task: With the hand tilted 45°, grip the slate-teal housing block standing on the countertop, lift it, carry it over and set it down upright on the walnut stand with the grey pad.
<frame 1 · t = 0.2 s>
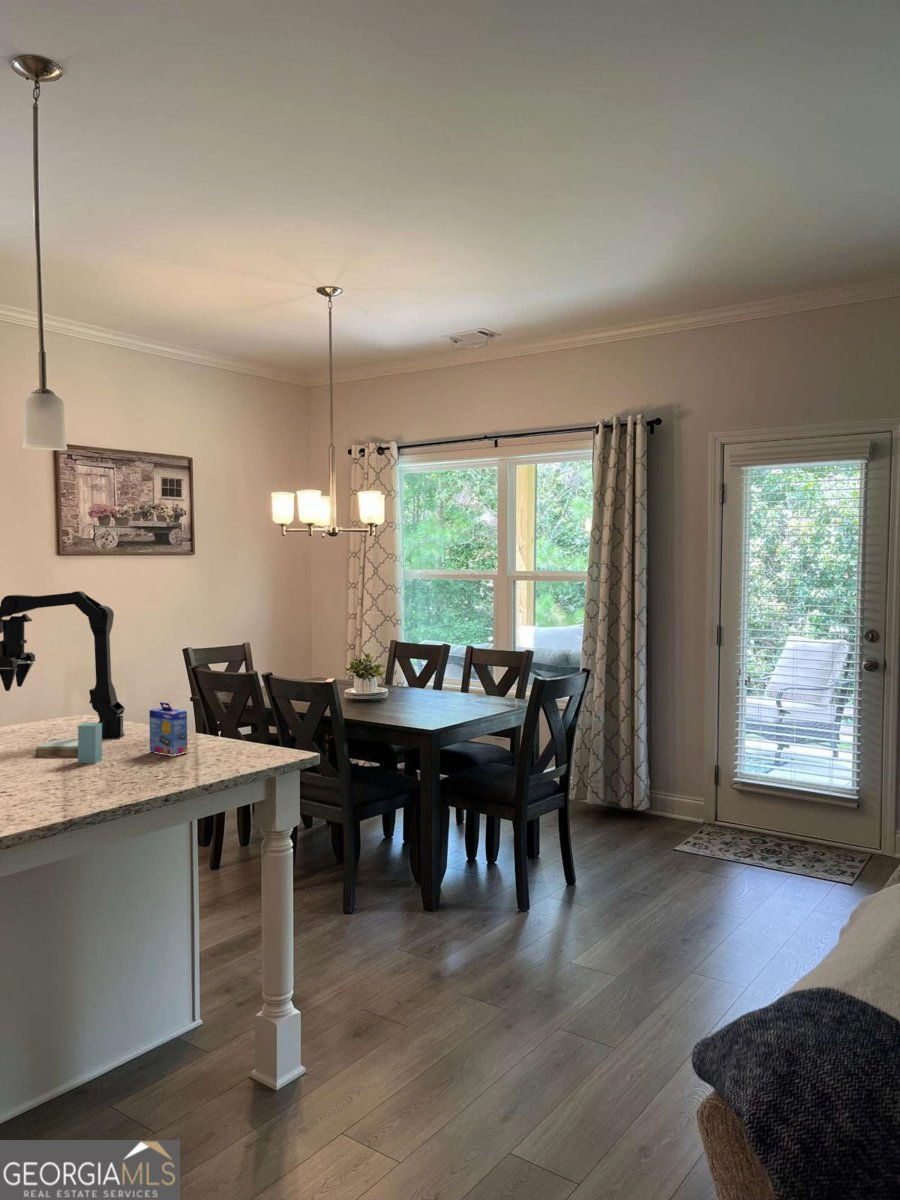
hand: (13, 688, 260), 15 cm above the countertop, tool pointing down, fingers open, 9 cm apart
stand: (66, 752, 241), on the countertop
ink cartridge box: (168, 754, 242), on the countertop
housing block: (90, 761, 230), on the countertop
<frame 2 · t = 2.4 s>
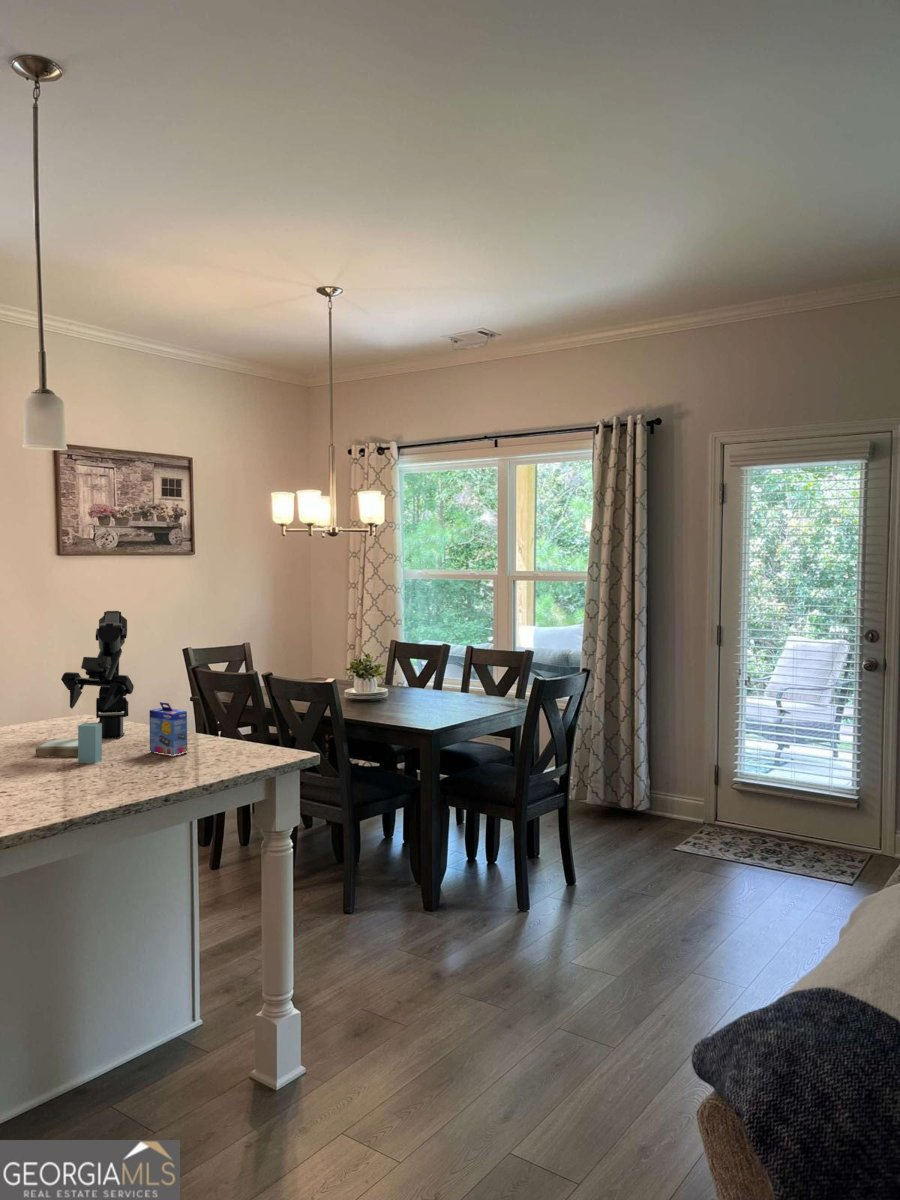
hand: (87, 708, 237), 13 cm above the countertop, tool tilted 40°, fingers open, 9 cm apart
nothing on the countertop moved.
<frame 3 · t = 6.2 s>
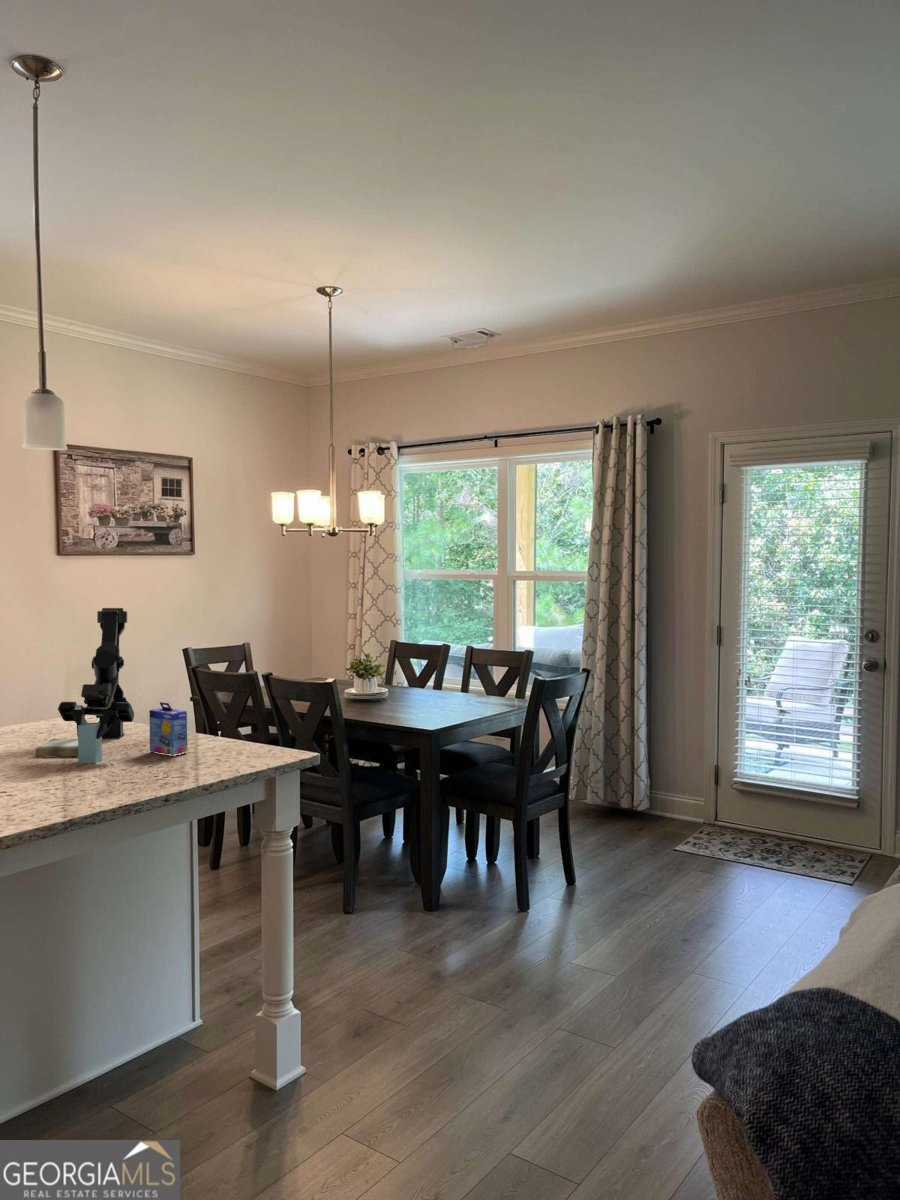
hand: (88, 737, 229), 7 cm above the countertop, tool tilted 45°, fingers closed on housing block, 4 cm apart
housing block: (90, 761, 230), on the countertop, touching gripper
everything else where it was.
when the fingers open (11 cm above the countertop, at t = 9.8 s): housing block drops 1 cm, resting on stand.
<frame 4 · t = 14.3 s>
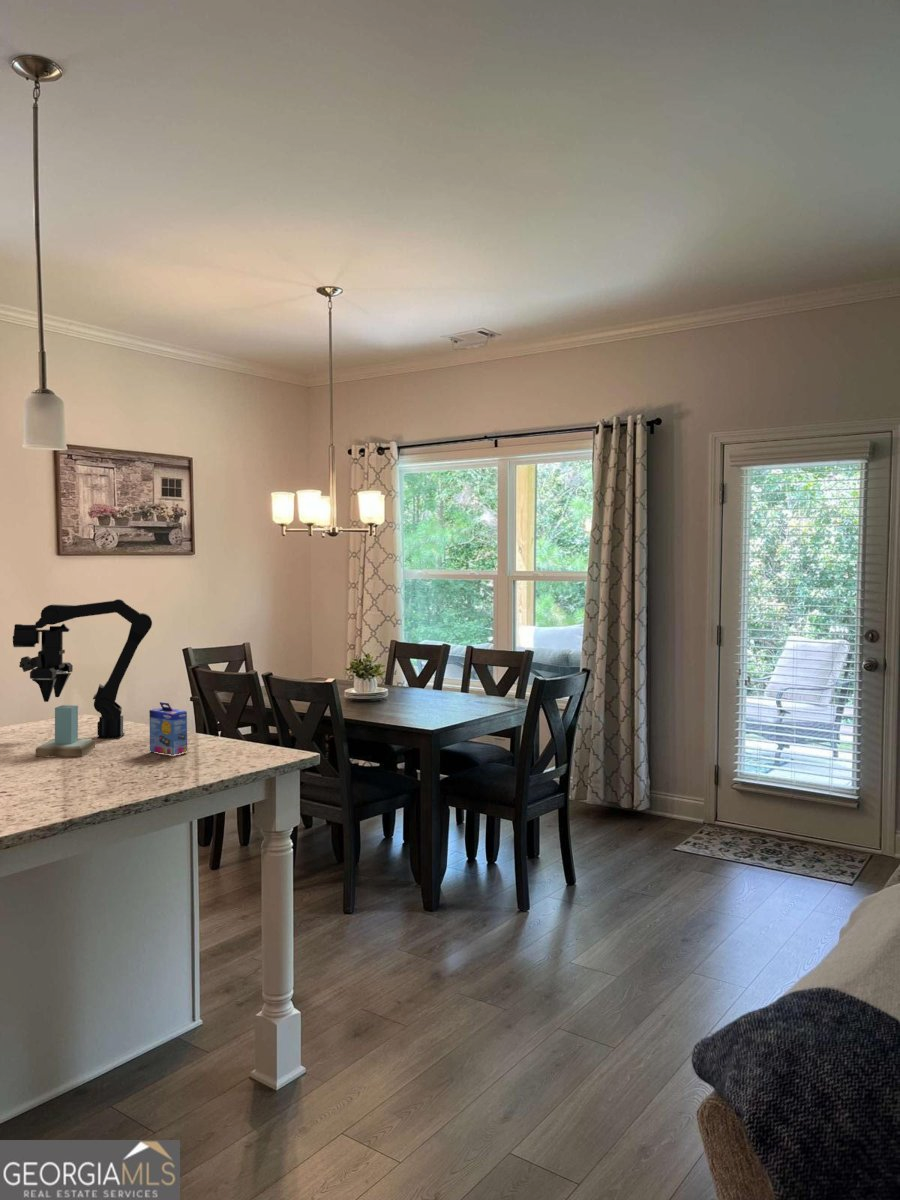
hand: (51, 699, 258), 12 cm above the countertop, tool pointing down, fingers open, 9 cm apart
housing block: (66, 742, 241), point 3 cm above the countertop, touching stand
everything else where it was.
at the end: housing block 0.0 cm off-centre on the stand, point 2.7 cm above the stand's base; housing block tilted 0°; the gripper is holding nothing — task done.
